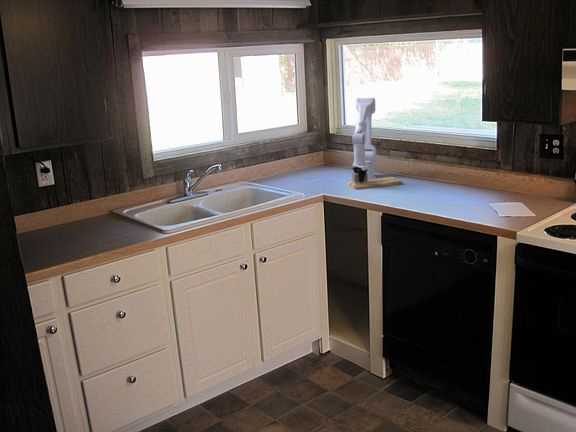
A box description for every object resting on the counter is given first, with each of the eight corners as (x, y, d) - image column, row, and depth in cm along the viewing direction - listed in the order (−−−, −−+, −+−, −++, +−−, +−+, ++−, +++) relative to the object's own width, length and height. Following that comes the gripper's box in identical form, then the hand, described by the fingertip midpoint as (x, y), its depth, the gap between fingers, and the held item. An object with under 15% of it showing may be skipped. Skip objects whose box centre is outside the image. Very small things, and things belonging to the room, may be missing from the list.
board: (346, 184, 337) (346, 181, 336) (391, 179, 343) (391, 176, 342) (355, 189, 324) (355, 186, 323) (402, 184, 329) (402, 181, 329)
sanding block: (352, 182, 332) (352, 173, 331) (364, 181, 334) (364, 172, 332) (355, 184, 328) (354, 174, 327) (367, 182, 330) (367, 173, 329)
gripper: (347, 154, 333) (348, 179, 337) (357, 158, 320) (357, 184, 323) (360, 153, 335) (360, 178, 338) (370, 157, 321) (370, 183, 325)
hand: (360, 181), depth 331 cm, fingers closed on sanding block, 4 cm apart
